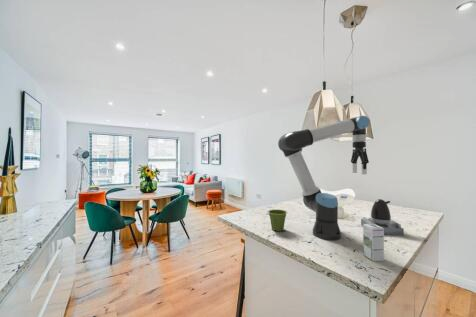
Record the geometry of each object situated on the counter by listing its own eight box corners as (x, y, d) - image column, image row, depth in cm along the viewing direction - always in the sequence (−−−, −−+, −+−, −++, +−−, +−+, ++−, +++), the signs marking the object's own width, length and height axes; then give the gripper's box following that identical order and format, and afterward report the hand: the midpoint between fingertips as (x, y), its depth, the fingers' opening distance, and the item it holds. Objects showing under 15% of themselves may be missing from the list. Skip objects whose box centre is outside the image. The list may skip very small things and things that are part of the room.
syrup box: (384, 261, 85) (384, 227, 85) (372, 261, 85) (372, 228, 85) (374, 254, 91) (374, 223, 91) (362, 255, 91) (362, 223, 91)
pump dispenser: (394, 226, 117) (394, 201, 117) (375, 225, 119) (375, 200, 119) (385, 221, 127) (385, 198, 127) (367, 220, 129) (367, 197, 129)
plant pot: (285, 226, 129) (285, 209, 129) (288, 233, 117) (288, 214, 117) (267, 226, 130) (267, 208, 130) (268, 232, 118) (268, 213, 118)
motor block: (373, 233, 116) (373, 224, 116) (358, 223, 136) (358, 214, 136) (403, 235, 114) (403, 225, 114) (383, 224, 134) (383, 215, 134)
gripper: (375, 139, 118) (375, 175, 118) (356, 143, 142) (356, 172, 142) (361, 139, 119) (361, 174, 119) (345, 143, 144) (345, 172, 144)
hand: (359, 173), depth 131 cm, fingers open, 13 cm apart
